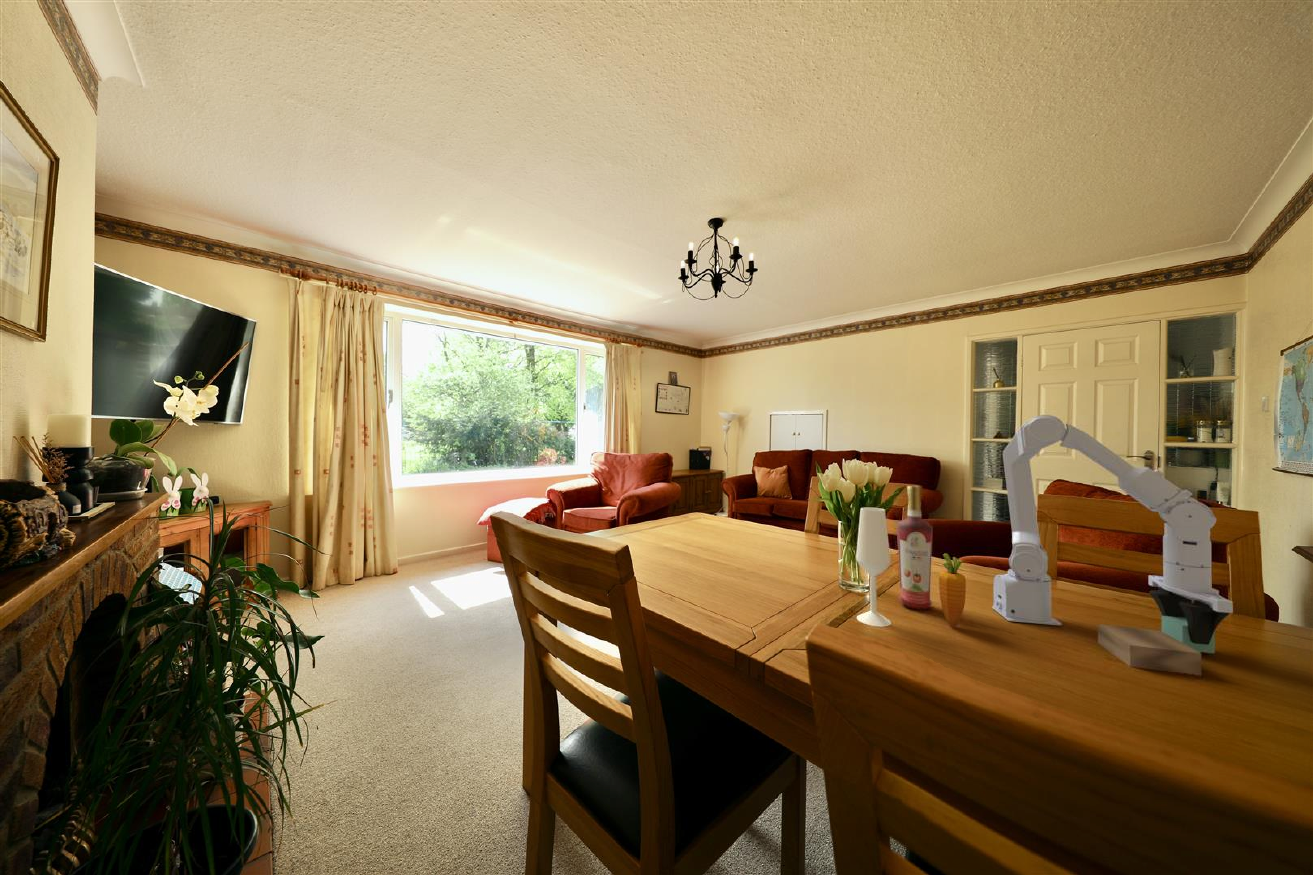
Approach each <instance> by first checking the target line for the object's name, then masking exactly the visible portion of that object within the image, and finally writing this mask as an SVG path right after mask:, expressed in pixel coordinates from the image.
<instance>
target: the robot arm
mask: <svg viewBox="0 0 1313 875" xmlns="http://www.w3.org/2000/svg"><path fill="white" fill-rule="evenodd" d="M1060 441H1061V442H1060ZM1058 442H1060V444H1059V446H1060V447H1061V448H1062V447H1063V448H1067V449H1071V450H1076V451H1078V452H1080V453H1082V454H1083V455H1084V456H1086V457H1088V458H1089V459H1090V460H1092V461H1093V462H1095V463H1096V464H1097V465H1099V466H1101V467H1102V468H1103V469H1105V470H1107V472H1109V473H1111V474H1113V475H1114V476H1116V477H1117V486H1118V488H1119V489H1120V490H1122V491H1123V492H1125V493H1126V494H1128V495H1129V496H1130V497H1132V498H1133V499H1134V500H1136V501H1137V502H1139V503H1140V504H1141V505H1143V506H1144V507H1146V508H1147V509H1148V510H1150V511H1151V512H1156V513H1157V512H1158V515H1159V516H1160V518H1161V519H1162V520H1163V521H1165V522H1164V524H1163V525H1164V535H1163V536H1162V563H1163V564H1162V565H1163V566H1162V569H1163V571H1162V572H1163V576H1162V575H1153V574H1152V575H1148V585H1149V586H1151V587H1158V589H1157V590H1155V589H1154V590H1153V589H1152V590H1149V595H1150V596H1151V597H1152V598H1153V600H1154V602H1155V604H1156V605H1157V607H1158V609H1159V612H1160V614H1161V616H1171V617H1184V618H1186V619H1187V623H1188V631H1189V636H1190V640H1191V642H1193V643H1195V644H1206V645H1209V643H1210V641H1211V638H1212V636H1213V633H1214V631H1215V632H1216V629H1217V628H1218V626H1219V625H1220V624H1221V622H1222V621H1223V620H1225V619H1226V617H1228V616H1230V614H1233V612H1234V609H1233V608H1234V607H1233V606H1234V604H1233V603H1234V602H1233V601H1232V600H1230V599H1227V598H1225V597H1223V596H1221V595H1220V594H1219V593H1220V591H1219V589H1216V588H1213V587H1212V586H1213V585H1212V541H1211V538H1210V537H1211V531H1210V530H1211V529H1212V528H1213V527H1214V526H1215V524H1216V522H1217V517H1215V515H1214V513H1213V510H1212V509H1211V508H1210V507H1208V506H1207V505H1206V504H1204V503H1202V502H1201V501H1198V499H1195V498H1193V497H1191V496H1193V493H1192V492H1190V491H1189V490H1188V489H1184V490H1182V488H1180V487H1178V486H1177V485H1175V484H1174V483H1172V482H1171V481H1169V480H1168V479H1167V478H1166V477H1164V476H1165V473H1164V472H1162V471H1161V470H1159V469H1155V470H1153V469H1151V467H1149V466H1133V465H1132V464H1130V463H1129V462H1128V461H1125V459H1123V458H1122V457H1120V456H1119V455H1118V454H1116V453H1115V452H1113V451H1112V450H1111V449H1109V448H1108V447H1106V446H1105V445H1104V444H1102V443H1101V442H1100V441H1098V440H1097V439H1095V437H1093V436H1091V435H1090V434H1089V433H1087V432H1086V431H1083V430H1081V429H1079V428H1077V427H1075V426H1073V425H1071V424H1069V423H1067V422H1066V423H1064V422H1063V420H1061V419H1060V418H1058V417H1057V416H1054V415H1051V414H1041V415H1036V416H1034V417H1032V418H1031V419H1029V420H1028V421H1026V422H1025V423H1024V424H1022V425H1021V426H1020V427H1018V430H1017V431H1016V433H1015V434H1014V436H1013V437H1012V438H1011V440H1010V441H1009V442H1008V444H1007V446H1006V447H1005V448H1004V450H1003V451H1002V460H1003V461H1002V462H1003V467H1004V477H1005V483H1006V484H1005V485H1006V491H1007V501H1008V508H1009V510H1008V511H1009V517H1010V525H1011V536H1012V538H1011V543H1012V549H1011V554H1010V556H1009V558H1008V565H1009V567H1010V568H1009V569H1007V573H1005V574H996V575H994V578H993V588H992V589H993V590H992V591H993V605H992V606H991V608H992V609H993V610H994V611H996V612H997V613H998V614H999V615H1001V616H1002V617H1003V618H1004V619H1006V620H1007V621H1008V622H1018V623H1025V624H1027V623H1028V624H1039V625H1050V626H1060V627H1061V626H1062V624H1063V623H1062V622H1061V621H1059V620H1058V619H1056V618H1054V617H1052V585H1051V584H1052V577H1051V576H1050V575H1048V573H1047V572H1048V570H1049V569H1048V568H1049V566H1048V561H1049V556H1048V554H1047V553H1048V552H1047V551H1046V550H1045V549H1044V547H1043V545H1042V543H1041V538H1040V537H1041V536H1040V533H1039V532H1040V530H1039V526H1038V516H1037V509H1036V508H1037V507H1036V500H1035V493H1034V484H1033V476H1032V475H1033V474H1032V467H1031V459H1033V458H1034V457H1035V456H1036V455H1037V454H1038V453H1040V452H1041V450H1043V449H1045V448H1048V447H1049V446H1051V445H1055V444H1056V443H1058Z"/></svg>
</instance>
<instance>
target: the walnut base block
mask: <svg viewBox="0 0 1313 875" xmlns="http://www.w3.org/2000/svg"><path fill="white" fill-rule="evenodd" d="M1097 644H1098V645H1099V646H1101V647H1102V648H1104V649H1105V650H1106V651H1108V652H1109V653H1110V654H1112V655H1113V656H1114V657H1116V658H1117V659H1119V661H1122V662H1123V663H1124V664H1126V665H1127V666H1129V667H1130V668H1131V667H1132V668H1137V669H1138V668H1139V669H1145V670H1152V671H1153V670H1155V671H1161V672H1162V671H1163V672H1171V673H1176V672H1181V673H1180V674H1184V673H1187V674H1186V675H1192V674H1194V675H1193V676H1199V677H1200V676H1201V677H1202V652H1198V651H1196V650H1194V649H1192V648H1191V647H1189V646H1187V645H1185V644H1183V643H1182V642H1180V641H1178V640H1176V639H1174V638H1172V637H1171V636H1169V635H1167V634H1165V633H1163V632H1162V630H1156V629H1145V628H1139V627H1137V628H1136V627H1128V626H1127V627H1126V626H1118V625H1108V624H1097Z"/></svg>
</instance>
